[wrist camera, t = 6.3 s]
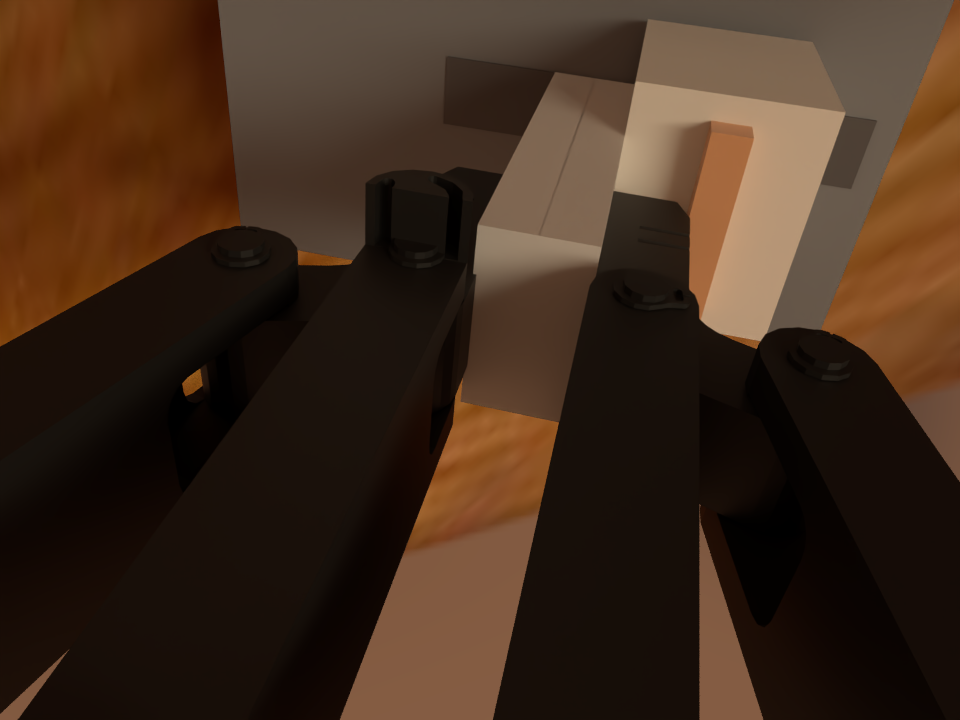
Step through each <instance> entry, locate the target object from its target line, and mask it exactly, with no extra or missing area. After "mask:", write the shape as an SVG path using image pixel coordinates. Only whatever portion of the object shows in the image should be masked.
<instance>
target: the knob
mask: <svg viewBox="0 0 960 720" xmlns="http://www.w3.org/2000/svg"><path fill="white" fill-rule="evenodd" d="M845 113H846V112H845V110H844V108H843V106H842V104H841V102H840V99H839V97H838V95H837V93H836V91H835V89H834V87H833V84H832V82H831V80H830V78H829V76H828V74H827V72H826V69H825V67H824V65H823V63H822V61H821V59H820V57H819V54H818V52H817V50H816V48H815V46H814V44H813V42H809V41H801V40H794V39H787V38H780V37H773V36H766V35H758V34H751V33H744V32H737V31H730V30H723V29H716V28H708V27H701V26H694V25H687V24H680V23H673V22H665V21H658V20H651V19H648V22H647V27H646V32H645V37H644V42H643V47H642V52H641V57H640V62H639V67H638V72H637V77H636V82H635V87H634V92H633V97H632V102H631V107H630V112H629V117H628V122H627V128H626V133H625V138H624V143H623V148H622V153H621V158H620V163H619V168H618V173H617V178H616V184H615V189H614V191H617V192H623V193H628V194H634V195H640V196H646V197H652V198H657V199H663V200H669V201H675V202H677V203H678V204H679V205H680V206H681V207H682V209H683V210H684V211H685V212H686V214H687V215H688V216H689V217H690V236H689V238H690V249H689V251H690V266H689V290H690V291H691V292H692V293H694V294H695V296H696V299H697V301H698V304H699V319H700V320H701V321H702V322H703V323H704V324H706V325H707V326H708V327H710V328H711V329H713V330H714V331H716V332H718V333H720V334H725V335H731V336H736V337H742V338H747V339H752V340H758V341H761V340H762V338H763V337H764V335H765V334H767V331H768V328H769V326H770V323H771V320H772V317H773V314H774V312H775V309H776V306H777V303H778V300H779V298H780V295H781V292H782V289H783V286H784V284H785V281H786V278H787V275H788V272H789V270H790V267H791V264H792V261H793V258H794V256H795V253H796V250H797V247H798V244H799V242H800V239H801V236H802V233H803V231H804V228H805V225H806V222H807V219H808V217H809V214H810V211H811V208H812V205H813V203H814V200H815V197H816V194H817V191H818V189H819V186H820V183H821V180H822V177H823V175H824V172H825V169H826V166H827V163H828V161H829V158H830V155H831V152H832V149H833V147H834V144H835V141H836V138H837V135H838V133H839V130H840V127H841V124H842V122H843V119H844V116H845Z"/></svg>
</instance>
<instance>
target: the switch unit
mask: <svg viewBox="0 0 960 720" xmlns="http://www.w3.org/2000/svg"><path fill="white" fill-rule="evenodd" d="M953 1H954V0H218V7H219V17H220V27H221V36H222V46H223V56H224V66H225V75H226V85H227V95H228V105H229V114H230V124H231V134H232V143H233V153H234V163H235V173H236V182H237V192H238V202H239V212H240V221H241V226H246V227H248V226H254V227H260V228H262V229H266V230H271V231H276V232H278V233H280V234H282V235H284V236H286V237H288V238H290V239H291V240H292V242H293V243H294V244H295V246H296V247H297V250H301V251H306V252H311V253H317V254H322V255H328V256H333V257H338V258H344V259H349V260H354V259H355V257H356V256H357V255H358V253H359V252H360V251H361V249H362V248H363V246H364V245H365V183H366V182H367V181H369V180H370V179H372V178H373V177H375V176H376V175H380V174H383V173H387V172H391V171H399V170H423V171H434V172H437V173H441V174H443V173H445V172H447V171H449V170H452V169H454V168H456V167H464V168H470V169H476V170H481V171H487V172H493V173H499V174H504V172H505V170H506V168H507V166H508V164H509V162H510V160H511V158H512V156H513V154H514V152H515V150H516V148H517V146H518V144H519V142H520V141H521V139H522V137H523V135H524V133H525V131H526V129H527V127H528V125H529V123H530V121H531V119H532V117H533V115H534V113H535V111H536V109H537V107H538V105H539V103H540V101H541V99H542V97H543V95H544V93H545V91H546V89H547V87H548V85H549V83H550V81H551V79H552V78H553V76H554V74H555V72H558V73H565V74H571V75H577V76H584V77H590V78H596V79H603V80H609V81H616V82H622V83H628V84H635V82H636V77H637V72H638V67H639V62H640V57H641V52H642V47H643V42H644V37H645V32H646V27H647V22H648V19H651V20H658V21H665V22H673V23H680V24H687V25H694V26H701V27H708V28H716V29H723V30H730V31H737V32H744V33H751V34H758V35H766V36H773V37H780V38H787V39H794V40H801V41H809V42H813V44H814V46H815V48H816V50H817V52H818V54H819V57H820V59H821V61H822V63H823V65H824V67H825V69H826V72H827V74H828V76H829V78H830V80H831V82H832V84H833V87H834V89H835V91H836V93H837V95H838V97H839V99H840V102H841V104H842V106H843V108H844V110H845V112H846V113H845V116H844V119H843V122H842V124H841V127H840V130H839V133H838V135H837V138H836V141H835V144H834V147H833V149H832V152H831V155H830V158H829V161H828V163H827V166H826V169H825V172H824V175H823V177H822V180H821V183H820V186H819V189H818V191H817V194H816V197H815V200H814V203H813V205H812V208H811V211H810V214H809V217H808V219H807V222H806V225H805V228H804V231H803V233H802V236H801V239H800V242H799V244H798V247H797V250H796V253H795V256H794V258H793V261H792V264H791V267H790V270H789V272H788V275H787V278H786V281H785V284H784V286H783V289H782V292H781V295H780V298H779V300H778V303H777V306H776V309H775V312H774V314H773V317H772V320H771V323H770V326H769V328H768V331H767V333H769V332H772V331H774V330H776V329H779V328H793V327H801V328H807V329H813V330H816V329H818V330H821V328H822V325H823V323H824V320H825V318H826V315H827V313H828V310H829V308H830V305H831V303H832V300H833V298H834V295H835V293H836V290H837V288H838V286H839V283H840V281H841V278H842V276H843V273H844V271H845V268H846V266H847V263H848V261H849V258H850V256H851V253H852V251H853V248H854V246H855V244H856V241H857V239H858V236H859V234H860V231H861V229H862V226H863V224H864V221H865V219H866V216H867V214H868V211H869V209H870V206H871V204H872V202H873V199H874V197H875V194H876V192H877V189H878V187H879V184H880V182H881V179H882V177H883V174H884V172H885V169H886V167H887V164H888V162H889V160H890V157H891V155H892V152H893V150H894V147H895V145H896V142H897V140H898V137H899V135H900V132H901V130H902V127H903V125H904V122H905V120H906V118H907V115H908V113H909V110H910V108H911V105H912V103H913V100H914V98H915V95H916V93H917V90H918V88H919V85H920V83H921V80H922V78H923V76H924V73H925V71H926V68H927V66H928V63H929V61H930V58H931V56H932V53H933V51H934V48H935V46H936V43H937V41H938V38H939V36H940V34H941V31H942V29H943V26H944V24H945V21H946V19H947V16H948V14H949V11H950V9H951V6H952V4H953Z"/></svg>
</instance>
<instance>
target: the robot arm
mask: <svg viewBox="0 0 960 720" xmlns="http://www.w3.org/2000/svg"><path fill="white" fill-rule="evenodd" d="M634 87H635V84H628V83H622V82H616V81H609V80H603V79H596V78H590V77H584V76H577V75H571V74H565V73H558V72H555V74H554V76H553V78H552V79H551V81H550V83H549V85H548V87H547V89H546V91H545V93H544V95H543V97H542V99H541V101H540V103H539V105H538V107H537V109H536V111H535V113H534V115H533V117H532V119H531V121H530V123H529V125H528V127H527V129H526V131H525V133H524V135H523V137H522V139H521V141H520V142H519V144H518V146H517V148H516V150H515V152H514V154H513V156H512V158H511V160H510V162H509V164H508V166H507V168H506V170H505V172H504V174H499V173H493V172H487V171H481V170H476V169H470V168H464V167H456V168H454V169H452V170H449V171H447V172H445V173H443V174H441V173H437V172H434V171H423V170H399V171H391V172H387V173H383V174H380V175H376V176H375V177H373V178H372V179H370V180H369V181H367V182H366V183H365V245H364V246H363V248H362V249H361V251H360V252H359V253H358V255H357V256H356V257H355V259H354V260H353V261H352V263H351V264H348V265H333V266H315V265H298V252H297V247H296V246H295V244H294V243H293V242H292V240H291V239H290V238H288V237H286V236H284V235H282V234H280V233H278V232H276V231H271V230H266V229H262V228H260V227H254V226H248V227H246V226H234V227H231V228H229V229H222V230H216V231H213V232H211V233H208V234H206V235H203V236H200V237H198V238H196V239H195V240H193V241H191V242H189V243H187V244H185V245H184V246H182V247H180V248H178V249H176V250H175V251H173V252H171V253H169V254H167V255H166V256H164V257H162V258H160V259H158V260H156V261H155V262H153V263H151V264H149V265H147V266H146V267H144V268H142V269H140V270H138V271H137V272H135V273H133V274H131V275H129V276H127V277H126V278H124V279H122V280H120V281H118V282H117V283H115V284H113V285H111V286H109V287H108V288H106V289H104V290H102V291H100V292H98V293H97V294H95V295H93V296H91V297H89V298H88V299H86V300H84V301H82V302H80V303H79V304H77V305H75V306H73V307H71V308H69V309H68V310H66V311H64V312H62V313H60V314H59V315H57V316H55V317H53V318H51V319H50V320H48V321H46V322H44V323H42V324H40V325H39V326H37V327H35V328H33V329H31V330H30V331H28V332H26V333H24V334H22V335H21V336H19V337H17V338H15V339H13V340H11V341H10V342H8V343H6V344H4V345H2V346H1V347H0V713H2V712H3V711H4V710H5V709H6V708H7V707H8V706H9V705H10V704H11V703H12V702H13V701H14V700H15V699H16V698H18V697H19V696H20V694H22V693H23V692H24V691H25V690H26V689H27V688H28V687H29V686H30V685H31V684H32V683H34V682H35V681H36V680H37V679H38V678H39V677H40V676H41V675H42V674H43V673H44V672H45V671H46V670H47V669H48V668H49V667H51V666H52V665H53V664H54V663H55V662H56V661H57V660H58V659H59V658H60V657H61V656H62V655H63V654H64V653H66V652H67V651H68V650H69V651H68V652H67V653H66V655H65V656H64V657H63V659H62V660H61V662H60V663H59V664H58V665H57V667H56V668H55V670H54V671H53V672H52V674H51V675H50V676H49V678H48V679H47V681H46V682H45V683H44V685H43V686H42V688H41V689H40V690H39V692H38V693H37V694H36V696H35V697H34V698H33V700H32V701H31V702H30V704H29V705H28V707H27V708H26V709H25V711H24V712H23V713H22V715H21V716H20V718H19V719H18V720H340V718H341V715H342V712H343V710H344V707H345V705H346V702H347V699H348V697H349V694H350V691H351V689H352V686H353V684H354V681H355V678H356V676H357V673H358V671H359V668H360V665H361V663H362V660H363V658H364V655H365V652H366V650H367V647H368V645H369V642H370V639H371V636H372V634H373V631H374V629H375V626H376V624H377V621H378V618H379V616H380V613H381V610H382V608H383V605H384V603H385V600H386V598H387V595H388V592H389V590H390V587H391V584H392V581H393V579H394V576H395V574H396V571H397V569H398V566H399V564H400V561H401V558H402V556H403V553H404V551H405V548H406V545H407V543H408V540H409V537H410V535H411V532H412V530H413V527H414V524H415V522H416V519H417V517H418V514H419V511H420V509H421V506H422V504H423V501H424V498H425V496H426V493H427V490H428V488H429V485H430V483H431V480H432V477H433V475H434V472H435V470H436V467H437V464H438V462H439V459H440V456H441V454H442V451H443V449H444V446H445V443H446V441H447V438H448V436H449V433H450V430H451V428H452V425H453V415H454V404H455V395H456V393H457V390H458V388H459V385H460V383H461V380H462V378H463V383H462V393H461V402H465V403H470V404H475V405H479V406H484V407H489V408H494V409H498V410H503V411H508V412H512V413H517V414H522V415H527V416H531V417H536V418H541V419H546V420H550V421H555V422H559V425H558V430H557V434H556V439H555V443H554V448H553V452H552V457H551V461H550V466H549V470H548V475H547V479H546V484H545V488H544V493H543V497H542V502H541V506H540V511H539V515H538V520H537V524H536V528H535V533H534V538H533V542H532V547H531V551H530V556H529V560H528V565H527V569H526V574H525V578H524V583H523V587H522V591H521V596H520V601H519V605H518V610H517V614H516V618H515V623H514V627H513V632H512V637H511V641H510V645H509V650H508V654H507V659H506V663H505V668H504V672H503V677H502V681H501V686H500V691H499V695H498V699H497V704H496V708H495V713H494V717H493V720H699V504H700V505H701V506H700V519H701V525H702V528H703V531H704V534H705V538H706V540H707V543H708V547H709V550H710V553H711V556H712V560H713V563H714V566H715V569H716V572H717V575H718V578H719V582H720V585H721V588H722V591H723V594H724V597H725V600H726V603H727V607H728V610H729V613H730V616H731V619H732V622H733V625H734V629H735V631H736V635H737V638H738V641H739V644H740V647H741V650H742V654H743V657H744V660H745V663H746V666H747V669H748V672H749V676H750V679H751V682H752V685H753V688H754V691H755V694H756V698H757V701H758V704H759V707H760V710H761V713H762V716H763V720H960V482H959V480H958V479H957V478H956V476H955V475H954V473H953V472H952V470H951V469H950V468H949V466H948V465H947V463H946V462H945V461H944V459H943V457H942V456H941V455H940V453H939V452H938V450H937V449H936V448H935V446H934V445H933V443H932V442H931V440H930V439H929V437H928V436H927V435H926V433H925V432H924V430H923V429H922V427H921V426H920V425H919V423H918V422H917V420H916V419H915V417H914V416H913V415H912V413H911V412H910V410H909V409H908V407H907V406H906V405H905V403H904V402H903V400H902V399H901V397H900V396H899V395H898V393H897V392H896V390H895V389H894V387H893V386H892V384H891V383H890V382H889V380H888V379H887V377H886V376H885V374H884V373H883V372H882V370H881V369H880V367H879V366H878V364H877V363H876V362H875V361H874V360H873V359H872V358H871V357H870V356H869V355H868V354H867V353H866V352H865V351H863V350H862V349H860V348H858V347H857V346H855V345H853V344H852V343H850V342H848V341H847V340H846V339H844V338H842V337H840V336H838V335H835V334H833V335H832V334H830V332H826V331H823V330H818V329H816V330H813V329H807V328H801V327H793V328H779V329H776V330H774V331H772V332H769V333H767V334H765V335H764V337H763V338H762V340H761V342H760V343H759V345H758V348H757V349H755V348H752V347H750V346H747V345H745V344H742V343H739V342H737V341H734V340H732V339H730V338H728V337H726V336H723V335H721V334H719V333H718V332H716V331H714V330H713V329H711V328H710V327H708V326H707V325H706V324H704V323H703V322H702V321H701V320H700V319H699V304H698V301H697V299H696V296H695V294H694V293H692V292H691V291H690V290H689V266H690V251H689V249H690V238H689V236H690V217H689V216H688V215H687V214H686V212H685V211H684V210H683V209H682V207H681V206H680V205H679V204H678V203H677V202H675V201H669V200H663V199H657V198H652V197H646V196H640V195H634V194H628V193H623V192H617V191H614V189H615V184H616V178H617V173H618V168H619V163H620V158H621V153H622V148H623V143H624V138H625V133H626V128H627V122H628V117H629V112H630V107H631V102H632V97H633V92H634ZM198 369H200V370H201V377H202V384H203V386H202V387H201V388H199V389H198V390H197V391H195V392H194V393H193V394H190V395H188V396H185V394H184V392H183V386H182V383H183V382H184V381H185V380H186V379H187V377H189V376H190V375H192V374H193V373H194V372H196V371H197V370H198Z"/></svg>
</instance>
